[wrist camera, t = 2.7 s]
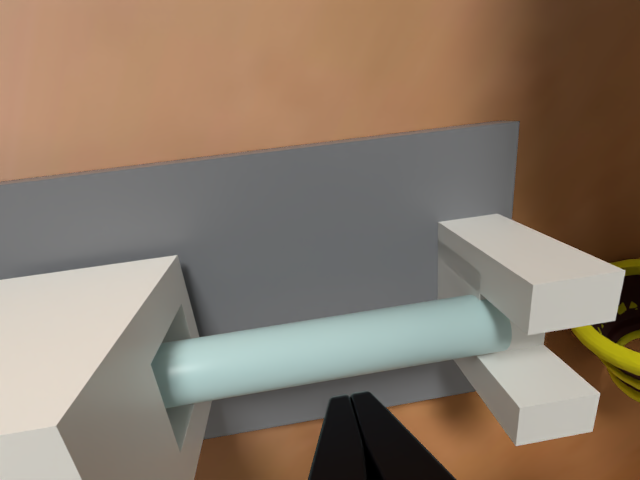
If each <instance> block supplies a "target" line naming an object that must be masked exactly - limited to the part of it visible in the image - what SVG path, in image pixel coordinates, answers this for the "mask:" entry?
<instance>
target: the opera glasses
mask: <svg viewBox="0 0 640 480" xmlns="http://www.w3.org/2000/svg"><path fill="white" fill-rule="evenodd" d="M610 264H612V265H614V266H616V267H619V268H621V269H623V270H625V276H624V281H623V286H622V291H621V295H620V300H619V305H618V310H617V315H616V320H615V321H611V322H605V323H599V324H593V325H587V326H581V327H575V328H571V330H572V331H573V333H574V334H575V336H576V337H577V338H578V339H579V340H580V341H581V343H582V344H583V345H585V346H586V347H587V348H588V349H589V350H591V351H592V352H593V353H594V354H596V355H597V356H598V358H599V359H600V360H601V361H602V362H603V364H604V365H605V366H606V367H607V370H608V373H609V375H610V377H611V379H612V380H613V382H614V383H615V384H616V385H617V386H618V387H619V388H620V389H621V390H622V391H623V392H624V393H625V394H626V395H628V396H629V397H630V398H632V399H634V400H636V401H637V402H639V403H640V353H638V352H635V351H632V350H630V349H627V348H625V347H623V346H624V345H626V344H627V343H628V342H630V341H632V340H634V339H637V338H640V275H639V274H640V259H628V260H623V261H618V262H612V263H610Z"/></svg>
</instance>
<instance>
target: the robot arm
mask: <svg viewBox="0 0 640 480" xmlns="http://www.w3.org/2000/svg"><path fill="white" fill-rule="evenodd" d="M308 480H456V479H455V478H454V477H453V476H452V475H451V474H450V472H449V471H448V470H447V469H446V468H445V467H444V466H443V465H442V464H441V463H440V462H439V461H438V460H437V459H436V458H435V457H434V456H433V455H432V454H431V453H430V452H429V451H428V450H427V449H426V448H425V447H424V446H423V445H422V444H421V443H420V442H419V441H418V440H417V439H416V438H415V437H414V436H413V435H412V434H411V433H410V432H409V431H408V430H407V429H406V428H405V427H404V426H403V425H402V423H401V422H400V421H399V420H398V419H397V418H396V417H395V416H394V415H393V414H392V413H391V412H390V411H389V410H388V409H387V408H386V407H385V406H384V405H383V404H382V403H381V402H380V401H379V400H378V399H377V398H376V397H375V396H374V395H373V394H372V393H371V392H370V391H362V392H357V393H352V394H351V396H349V395H347V394H345V395H339V396H334V397H331V398H330V399H329V402H328V405H327V409H326V413H325V417H324V421H323V424H322V428H321V432H320V436H319V439H318V443H317V447H316V451H315V455H314V458H313V462H312V466H311V470H310V474H309V477H308Z"/></svg>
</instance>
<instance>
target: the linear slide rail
mask: <svg viewBox="0 0 640 480" xmlns="http://www.w3.org/2000/svg"><path fill="white" fill-rule="evenodd" d="M519 123H520V121H492V122H484V123H476V124H468V125H460V126H452V127H443V128H435V129H427V130H419V131H411V132H403V133H394V134H386V135H378V136H370V137H362V138H354V139H345V140H337V141H329V142H321V143H313V144H305V145H296V146H288V147H280V148H272V149H264V150H256V151H247V152H239V153H231V154H223V155H215V156H207V157H198V158H190V159H182V160H174V161H166V162H158V163H149V164H141V165H133V166H125V167H117V168H109V169H100V170H92V171H84V172H76V173H68V174H60V175H51V176H43V177H35V178H27V179H19V180H11V181H2V182H0V280H3V279H10V278H17V277H24V276H32V275H39V274H46V273H53V272H60V271H67V270H74V269H81V268H88V267H95V266H103V265H110V264H117V263H124V262H131V261H138V260H145V259H152V258H159V257H166V256H174V255H178V258H179V262H180V266H181V270H182V273H183V277H184V281H185V285H186V288H187V292H188V296H189V300H190V303H191V307H192V311H193V315H194V318H195V322H196V326H197V330H198V333H199V337H198V338H191V339H185V340H179V341H172V342H166V343H161V345H160V347H159V349H158V351H157V353H156V355H155V357H154V359H153V361H152V363H151V367H152V370H153V373H154V376H155V379H156V382H157V385H158V388H159V391H160V394H161V397H162V400H163V403H164V406H165V408H170V407H176V406H182V405H188V404H194V403H200V402H206V401H212V403H211V407H210V412H209V416H208V421H207V425H206V429H205V434H204V438H203V440H204V439H209V438H215V437H220V436H226V435H232V434H237V433H243V432H249V431H254V430H260V429H265V428H271V427H277V426H282V425H288V424H294V423H299V422H305V421H310V420H316V419H322V418H324V417H325V413H326V409H327V405H328V402H329V399H330V398H331V397H334V396H339V395H345V394H347V395H349V396H351V394H352V393H357V392H362V391H370V392H371V393H372V394H373V395H374V396H375V397H376V398H377V399H378V400H379V401H380V402H381V403H382V404H383V405H384V406H385V407H389V406H395V405H401V404H406V403H412V402H417V401H423V400H429V399H434V398H440V397H446V396H451V395H457V394H462V393H468V392H474V391H476V392H477V393H478V394H479V396H480V397H481V399H482V400H483V401H484V403H485V404H486V406H487V407H488V408H489V410H490V411H491V412H492V414H493V415H494V417H495V418H496V419H497V421H498V422H499V424H500V425H501V426H502V428H503V429H504V430H505V432H506V433H507V435H508V436H509V437H510V439H511V440H512V442H513V443H514V444H515V446H519V445H524V444H530V443H535V442H540V441H545V440H551V439H556V438H561V437H566V436H572V435H577V434H582V433H587V432H593V427H594V422H595V417H596V412H597V407H598V403H599V398H600V393H599V392H598V391H597V390H596V389H595V388H594V387H592V386H591V385H590V384H589V383H588V382H587V381H585V380H584V379H583V378H582V377H581V376H580V375H578V374H577V373H576V372H575V371H574V370H573V369H572V368H570V367H569V366H568V365H567V364H566V363H565V362H563V361H562V360H561V359H560V358H559V357H558V356H556V355H555V354H554V353H553V352H552V351H551V350H549V349H548V348H547V347H546V346H545V345H544V338H545V332H551V331H557V330H563V329H569V328H575V327H581V326H587V325H593V324H599V323H605V322H611V321H615V320H616V315H617V310H618V305H619V300H620V295H621V291H622V286H623V281H624V276H625V270H623V269H621V268H619V267H616V266H614V265H612V264H610V263H607V262H605V261H603V260H601V259H598V258H596V257H594V256H592V255H589V254H587V253H585V252H583V251H581V250H578V249H576V248H574V247H572V246H569V245H567V244H565V243H563V242H560V241H558V240H556V239H554V238H551V237H549V236H547V235H545V234H542V233H540V232H538V231H536V230H533V229H531V228H529V227H527V226H525V225H522V224H520V223H518V222H516V221H513V220H512V210H513V198H514V185H515V173H516V160H517V148H518V135H519Z"/></svg>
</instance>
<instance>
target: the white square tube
mask: <svg viewBox="0 0 640 480" xmlns="http://www.w3.org/2000/svg"><path fill="white" fill-rule="evenodd" d="M198 337H199V333H198V330H197V326H196V322H195V318H194V315H193V311H192V307H191V303H190V300H189V296H188V292H187V288H186V285H185V281H184V277H183V273H182V270H181V266H180V262H179V258H178V255H174V256H166V257H159V258H152V259H145V260H138V261H131V262H124V263H117V264H110V265H103V266H95V267H88V268H81V269H74V270H67V271H60V272H53V273H46V274H39V275H32V276H24V277H17V278H10V279H3V280H0V480H194V478H195V473H196V469H197V465H198V460H199V456H200V451H201V447H202V443H203V438H204V434H205V429H206V425H207V421H208V416H209V412H210V407H211V403H212V401H206V402H200V403H194V404H188V405H182V406H176V407H170V408H165V406H164V403H163V400H162V397H161V394H160V391H159V388H158V385H157V382H156V379H155V376H154V373H153V370H152V367H151V363H152V361H153V359H154V357H155V355H156V353H157V351H158V349H159V347H160V345H161V343H166V342H172V341H179V340H185V339H191V338H198Z"/></svg>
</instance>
